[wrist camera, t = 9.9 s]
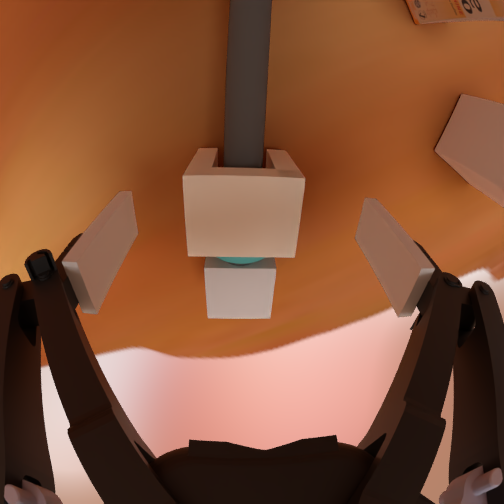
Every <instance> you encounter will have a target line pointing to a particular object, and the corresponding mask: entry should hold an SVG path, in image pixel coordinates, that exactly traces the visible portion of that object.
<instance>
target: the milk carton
mask: <svg viewBox="0 0 504 504" xmlns="http://www.w3.org/2000/svg"><path fill="white" fill-rule="evenodd" d="M434 151H435V152H436V153H437V154H438V155H439V156H440V157H441V158H442V159H444V160H445V161H446V162H447V163H448V164H449V165H450V166H451V167H452V168H453V169H454V170H456V171H457V172H458V173H459V174H460V175H461V176H462V177H463V178H464V179H465V180H466V181H467V182H468V183H469V184H470V185H472V186H473V187H475V188H476V189H478V190H479V191H481V192H482V193H484V194H485V195H487V196H488V197H489V198H491V199H492V200H494V201H495V202H496V203H498V204H499V205H500V206H502V207H503V208H504V104H501V103H498V102H494V101H490V100H487V99H483V98H479V97H474V96H470V95H466V94H461V96H460V98H459V101H458V103H457V105H456V107H455V109H454V112H453V114H452V116H451V118H450V120H449V122H448V124H447V126H446V128H445V130H444V132H443V134H442V136H441V138H440V140H439V142H438V144H437V146H436V148H435V150H434Z"/></svg>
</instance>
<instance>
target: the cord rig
mask: <svg viewBox="0 0 504 504" xmlns="http://www.w3.org/2000/svg"><path fill="white" fill-rule="evenodd" d="M271 7H272V0H230V11H229V27H228V46H227V67H226V93H225V126H224V167H229V168H262V163H263V147H264V130H265V114H266V97H267V80H268V62H269V44H270V26H271ZM204 273H205V288H206V301H207V313H208V318H229V319H267V318H270V316H271V308H272V300H273V293H274V284H275V276H276V264H275V259H274V257H206V259H205V266H204Z"/></svg>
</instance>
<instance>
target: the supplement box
mask: <svg viewBox="0 0 504 504" xmlns="http://www.w3.org/2000/svg"><path fill="white" fill-rule="evenodd" d="M406 2H407V5H408V7H409V10H410V12H411V14H412V17H413V19H414V22H415V24H426V23H440V22H461V21H504V0H406Z"/></svg>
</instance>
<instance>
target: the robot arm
mask: <svg viewBox="0 0 504 504" xmlns="http://www.w3.org/2000/svg"><path fill="white" fill-rule="evenodd" d="M137 235H138V229H137V223H136V217H135V210H134V204H133V197H132V191H119V192H118V194H117V195H116V196H115V197H114V198H113V199H112V200H111V201H110V202H109V204H108V205H107V206H106V207H105V208H104V209H103V210H102V211H101V213H100V214H99V215H98V216H97V217H96V219H95V220H94V221H93V222H92V223H91V224H90V226H89V227H88V228H87V229H86V231H85V232H84V233H80V234H79V235H78V236H76V237H75V238H73V239H72V241H71V242H70V243H69V244H68V246H67V247H66V248H65V249H64V252H62V253H61V255H60V256H59V257H58V259H57V260H56V261H54V258H53V256H52V253H51V251H50V250H47V249H42V250H39V251H36V252H34V253H32V254H31V255H30V256H29V257H28V258H27V259H26V261H25V264H24V265H25V267H26V269H27V272H28V274H29V276H30V278H31V281H26V282H21V280H20V278H19V276H18V275H17V274H10V275H7V276H5V277H3V278H2V280H1V281H0V504H63V503H62V502H61V500H60V499H59V497H58V496H57V495H56V494H55V484H54V477H53V471H52V465H51V460H50V455H49V450H48V444H47V438H46V432H45V423H44V415H43V405H42V391H41V336H42V341H43V345H44V349H45V353H46V356H47V360H48V363H49V367H50V370H51V373H52V376H53V380H54V383H55V386H56V389H57V392H58V395H59V397H60V400H61V403H62V405H63V408H64V410H65V413H66V416H67V418H68V420H69V423H70V428H69V429H68V435H69V438H70V441H71V443H72V445H73V448H74V450H75V452H76V454H77V456H78V458H79V460H80V462H81V464H82V465H83V468H84V469H85V471H86V473H87V475H88V477H89V479H90V480H91V482H92V484H93V486H94V487H95V489H96V491H97V492H98V494H99V496H100V497H101V499H102V500H103V502H104V504H435V503H433V502H432V501H431V500H429V499H428V498H426V497H425V496H423V495H422V494H421V493H420V492H421V490H422V488H423V486H424V483H425V481H426V479H427V477H428V474H429V472H430V469H431V467H432V464H433V462H434V459H435V457H436V454H437V451H438V448H439V446H440V443H441V440H442V437H443V433H444V430H445V425H446V421H445V419H443V418H441V412H442V408H443V405H444V401H445V398H446V394H447V390H448V385H449V381H450V377H451V372H452V367H453V374H454V412H453V430H452V442H451V452H450V462H449V486H448V487H447V490H446V491H444V492H443V493H442V494H441V495H440V498H439V503H440V504H504V323H503V319H502V316H501V313H500V309H499V306H498V303H497V300H496V297H495V295H494V292H493V290H492V289H491V288H490V286H489V285H488V284H486V283H485V282H482V281H475V282H474V284H473V286H472V288H471V289H470V288H466V287H462V283H461V282H460V280H459V279H458V278H457V277H455V276H454V275H452V274H450V273H446V272H443V273H442V271H441V270H440V269H439V267H438V266H437V265H436V263H435V262H434V261H433V260H432V258H430V256H429V255H428V253H427V252H426V251H425V250H424V248H423V247H422V246H421V245H420V244H418V243H417V242H416V241H414V240H412V239H411V237H410V236H409V235H408V234H407V233H406V231H405V230H404V229H403V228H402V227H401V226H400V225H399V223H398V222H397V221H396V220H395V219H394V218H393V217H392V215H391V214H390V213H389V212H388V211H387V210H386V209H385V208H384V207H383V206H382V204H381V203H380V202H379V201H378V200H377V199H374V198H365V199H364V203H363V208H362V212H361V216H360V220H359V224H358V228H357V232H356V236H355V240H356V241H357V243H358V245H359V246H360V248H361V250H362V251H363V253H364V255H365V257H366V258H367V260H368V262H369V264H370V265H371V267H372V269H373V271H374V272H375V274H376V276H377V278H378V280H379V282H380V283H381V285H382V287H383V289H384V291H385V293H386V295H387V297H388V299H389V300H390V302H391V304H392V306H393V308H394V310H395V312H396V314H397V316H398V317H407V316H411V315H412V313H413V312H414V310H415V308H416V306H417V308H418V310H419V311H420V313H419V315H418V316H417V318H416V320H415V322H414V323H413V325H412V327H411V328H410V329H411V330H412V329H413V330H412V333H411V336H410V339H409V342H408V345H407V347H406V350H405V353H404V355H403V358H402V360H401V363H400V365H399V368H398V371H397V373H396V375H395V377H394V380H393V382H392V384H391V387H390V389H389V391H388V393H387V395H386V398H385V400H384V402H383V404H382V406H381V408H380V410H379V412H378V414H377V416H376V418H375V420H374V422H373V424H372V425H371V427H370V429H369V431H368V433H367V434H366V436H365V437H364V438H363V440H362V441H361V442H360V443H359V445H358V446H357V447H355V446H353V445H349V444H345V443H339V442H337V437H336V435H333V436H326V437H318V438H308V439H301V440H298V441H295V442H292V443H289V444H286V445H282V446H279V447H276V448H272V449H269V450H260V449H255V448H250V447H245V446H241V445H237V444H232V443H229V442H218V441H199V440H189V447H184V448H180V449H176V450H173V451H170V452H168V453H166V454H164V455H162V456H160V457H159V458H156V457H155V456H154V454H153V453H152V452H151V450H150V449H149V448H148V446H147V445H146V444H145V443H144V441H143V440H142V439H141V437H140V436H139V434H138V433H137V431H136V430H135V428H134V427H133V425H132V423H131V422H130V420H129V419H128V417H127V415H126V414H125V412H124V410H123V409H122V407H121V405H120V403H119V402H118V400H117V398H116V396H115V395H114V393H113V391H112V389H111V387H110V385H109V383H108V382H107V380H106V378H105V376H104V374H103V372H102V370H101V368H100V366H99V363H98V361H97V359H96V357H95V355H94V353H93V351H92V348H91V346H90V344H89V341H88V339H87V337H86V334H85V332H84V330H83V327H82V325H81V322H80V320H79V317H78V314H77V312H76V310H75V309H76V307H77V305H78V303H79V305H80V307H81V309H82V312H83V313H90V314H98V312H99V309H100V307H101V305H102V303H103V301H104V299H105V296H106V294H107V292H108V290H109V288H110V286H111V284H112V282H113V280H114V278H115V276H116V274H117V272H118V270H119V268H120V266H121V264H122V262H123V261H124V259H125V257H126V255H127V253H128V251H129V249H130V248H131V246H132V244H133V242H134V240H135V238H136V237H137ZM474 327H475V328H474Z"/></svg>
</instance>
